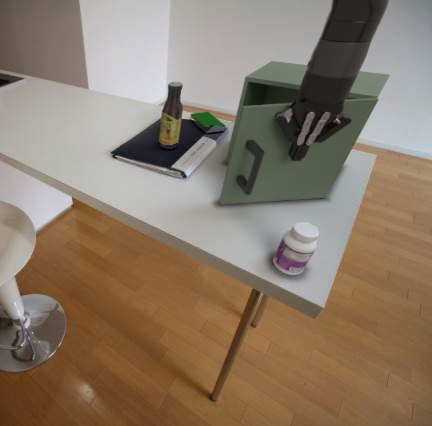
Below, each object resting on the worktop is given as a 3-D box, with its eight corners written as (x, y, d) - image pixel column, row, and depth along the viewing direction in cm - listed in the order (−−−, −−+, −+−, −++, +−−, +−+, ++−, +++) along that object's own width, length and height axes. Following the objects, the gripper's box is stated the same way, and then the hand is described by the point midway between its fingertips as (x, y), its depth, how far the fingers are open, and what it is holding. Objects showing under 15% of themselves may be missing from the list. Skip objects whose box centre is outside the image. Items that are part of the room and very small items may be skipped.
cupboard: (324, 195, 71) (378, 96, 56) (224, 163, 85) (245, 76, 70) (341, 165, 81) (390, 74, 66) (249, 141, 95) (271, 60, 80)
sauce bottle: (155, 144, 96) (158, 82, 83) (170, 140, 98) (176, 78, 85) (166, 153, 91) (171, 88, 79) (182, 148, 93) (190, 84, 80)
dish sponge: (205, 134, 100) (207, 128, 98) (189, 119, 110) (190, 113, 109) (224, 132, 101) (226, 125, 99) (207, 117, 111) (208, 111, 110)
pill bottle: (277, 250, 58) (294, 214, 52) (306, 263, 56) (327, 226, 49) (268, 266, 55) (285, 230, 49) (298, 281, 53) (320, 244, 46)
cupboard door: (340, 212, 66) (403, 110, 51) (228, 220, 66) (256, 119, 51) (323, 195, 71) (375, 97, 56) (218, 202, 71) (242, 105, 56)
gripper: (296, 75, 47) (265, 166, 58) (388, 75, 45) (337, 170, 56) (284, 63, 53) (257, 149, 64) (365, 63, 50) (323, 152, 62)
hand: (294, 159), depth 60 cm, fingers closed
